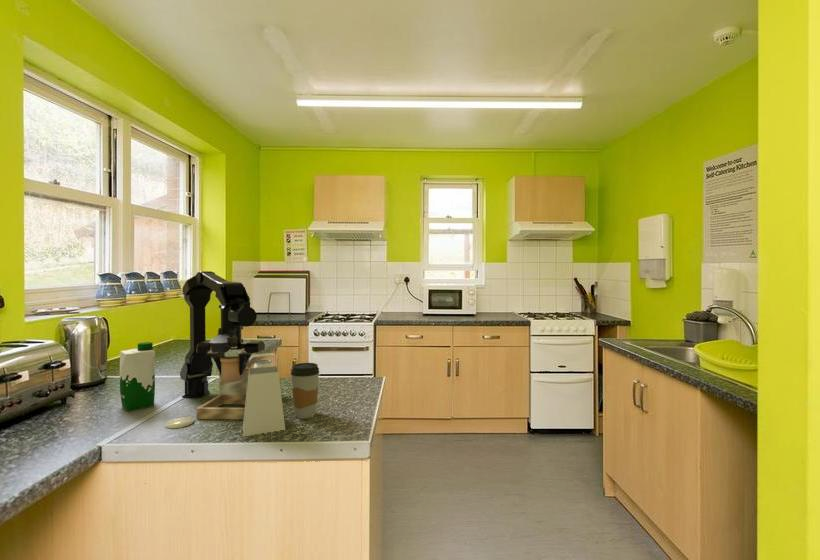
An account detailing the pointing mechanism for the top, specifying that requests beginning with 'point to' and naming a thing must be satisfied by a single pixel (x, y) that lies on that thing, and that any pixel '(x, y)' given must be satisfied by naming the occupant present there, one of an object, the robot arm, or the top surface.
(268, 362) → the can
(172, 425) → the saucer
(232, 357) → the pot
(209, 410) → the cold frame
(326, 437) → the top surface
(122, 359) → the milk carton
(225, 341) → the robot arm
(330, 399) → the top surface
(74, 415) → the top surface
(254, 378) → the grater
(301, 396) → the coffee cup
